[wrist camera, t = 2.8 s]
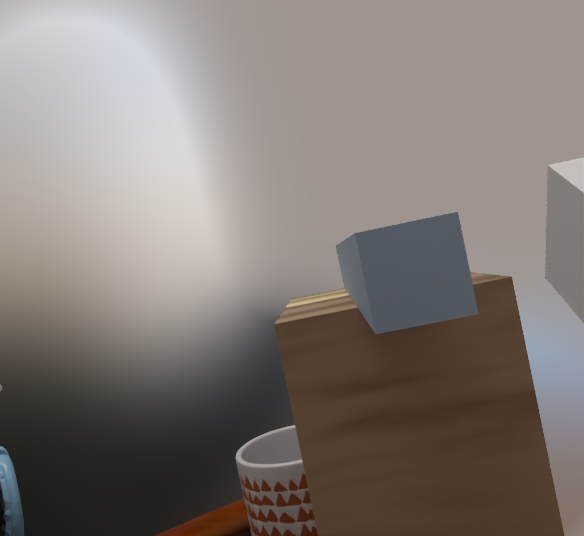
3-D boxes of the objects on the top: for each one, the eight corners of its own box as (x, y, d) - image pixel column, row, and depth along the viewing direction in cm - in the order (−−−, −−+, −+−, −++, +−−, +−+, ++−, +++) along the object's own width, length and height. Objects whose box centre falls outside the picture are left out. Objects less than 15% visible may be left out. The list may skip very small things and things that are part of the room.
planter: (268, 597, 58) (243, 477, 58) (249, 539, 71) (228, 442, 71) (389, 555, 61) (366, 441, 61) (349, 507, 74) (329, 414, 74)
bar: (478, 314, 21) (457, 211, 21) (375, 334, 22) (354, 233, 22) (387, 279, 51) (378, 236, 51) (344, 287, 52) (335, 245, 52)
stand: (614, 783, 32) (511, 275, 32) (376, 818, 33) (274, 323, 33) (503, 582, 52) (439, 268, 52) (356, 607, 53) (292, 298, 53)
